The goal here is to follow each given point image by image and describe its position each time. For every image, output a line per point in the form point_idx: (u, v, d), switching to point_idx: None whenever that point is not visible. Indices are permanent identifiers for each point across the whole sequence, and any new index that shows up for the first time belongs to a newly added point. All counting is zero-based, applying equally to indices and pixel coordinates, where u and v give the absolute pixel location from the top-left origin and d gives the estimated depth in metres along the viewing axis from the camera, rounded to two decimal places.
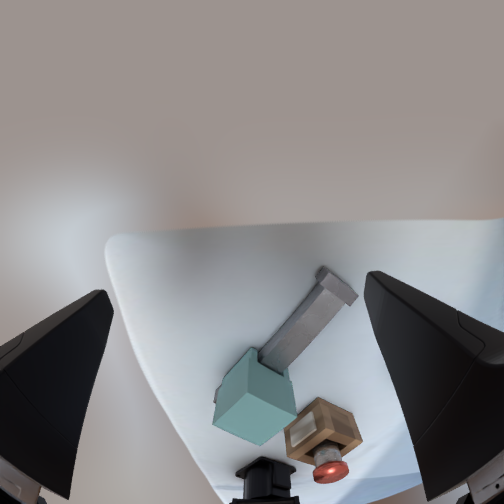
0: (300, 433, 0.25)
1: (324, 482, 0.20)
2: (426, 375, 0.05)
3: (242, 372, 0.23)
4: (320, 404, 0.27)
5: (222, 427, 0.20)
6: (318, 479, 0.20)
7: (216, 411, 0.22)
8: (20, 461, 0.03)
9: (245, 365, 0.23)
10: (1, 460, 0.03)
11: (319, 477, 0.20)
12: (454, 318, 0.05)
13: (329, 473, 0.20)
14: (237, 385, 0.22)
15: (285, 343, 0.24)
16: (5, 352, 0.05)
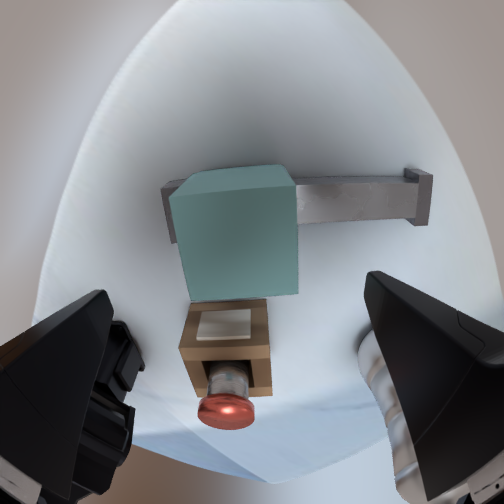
0: (220, 327, 0.19)
1: (205, 420, 0.16)
2: (426, 375, 0.05)
3: (268, 170, 0.14)
4: (266, 309, 0.21)
5: (178, 216, 0.11)
6: (205, 412, 0.15)
7: (183, 187, 0.12)
8: (20, 461, 0.03)
9: (276, 167, 0.14)
10: (1, 460, 0.03)
11: (210, 410, 0.15)
12: (454, 318, 0.05)
13: (228, 413, 0.15)
14: (256, 176, 0.13)
15: (332, 193, 0.16)
16: (5, 352, 0.05)
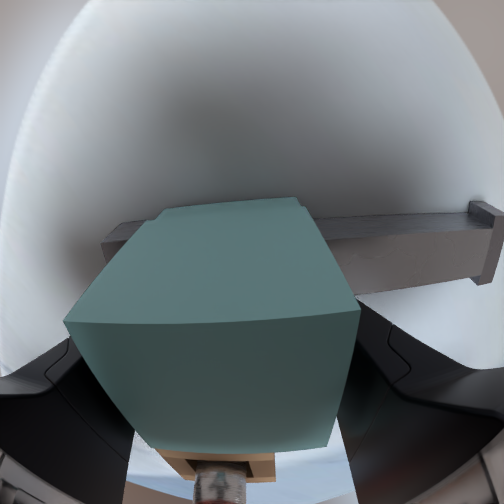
0: None
1: None
2: (352, 393, 0.05)
3: (280, 225, 0.07)
4: None
5: (90, 355, 0.04)
6: None
7: (106, 276, 0.05)
8: (73, 487, 0.03)
9: (295, 216, 0.08)
10: (49, 489, 0.03)
11: None
12: (384, 334, 0.05)
13: None
14: (256, 249, 0.06)
15: (382, 250, 0.09)
16: (50, 363, 0.04)
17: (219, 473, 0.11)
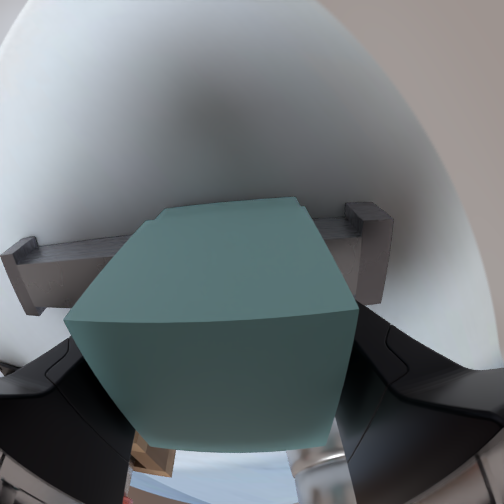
0: None
1: None
2: (350, 393, 0.05)
3: (280, 225, 0.07)
4: None
5: (91, 354, 0.04)
6: None
7: (106, 275, 0.05)
8: (73, 487, 0.03)
9: (294, 216, 0.08)
10: (50, 489, 0.03)
11: None
12: (382, 334, 0.05)
13: None
14: (255, 248, 0.06)
15: None
16: (51, 363, 0.04)
17: None
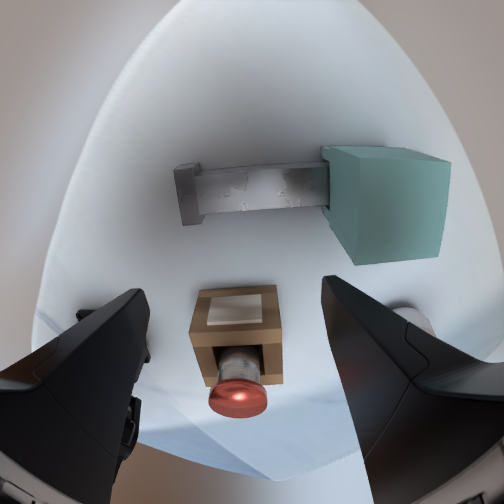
0: (231, 312, 0.19)
1: (215, 408, 0.16)
2: (369, 389, 0.05)
3: (402, 150, 0.13)
4: (277, 295, 0.21)
5: (365, 178, 0.11)
6: (216, 399, 0.15)
7: (353, 153, 0.12)
8: (60, 481, 0.03)
9: (404, 149, 0.14)
10: (37, 482, 0.03)
11: (222, 397, 0.15)
12: (401, 330, 0.05)
13: (240, 400, 0.15)
14: (404, 153, 0.12)
15: None
16: (39, 360, 0.05)
17: (239, 356, 0.17)
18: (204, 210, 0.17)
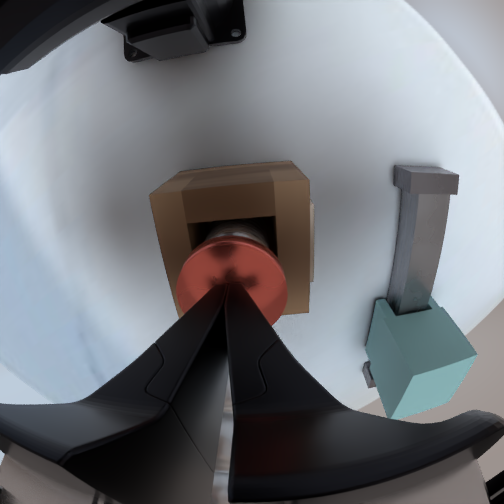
0: None
1: (208, 258, 0.08)
2: None
3: None
4: None
5: (466, 360, 0.12)
6: (250, 263, 0.08)
7: (464, 341, 0.13)
8: None
9: None
10: None
11: (259, 274, 0.09)
12: (261, 349, 0.05)
13: None
14: None
15: None
16: (147, 376, 0.04)
17: None
18: (421, 199, 0.13)
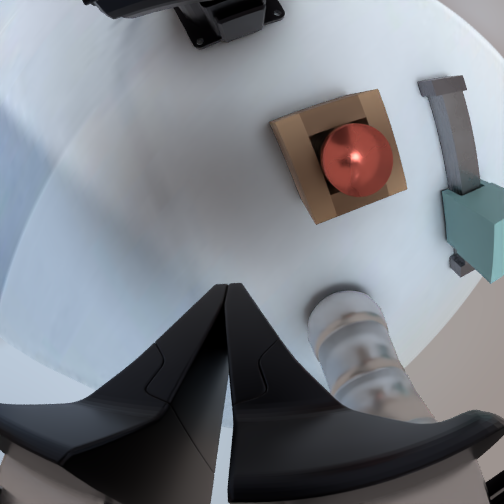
0: None
1: (341, 135, 0.12)
2: None
3: None
4: None
5: None
6: (365, 133, 0.11)
7: None
8: None
9: None
10: None
11: (372, 139, 0.12)
12: (261, 349, 0.05)
13: (372, 162, 0.12)
14: None
15: None
16: (147, 376, 0.04)
17: None
18: (445, 98, 0.14)
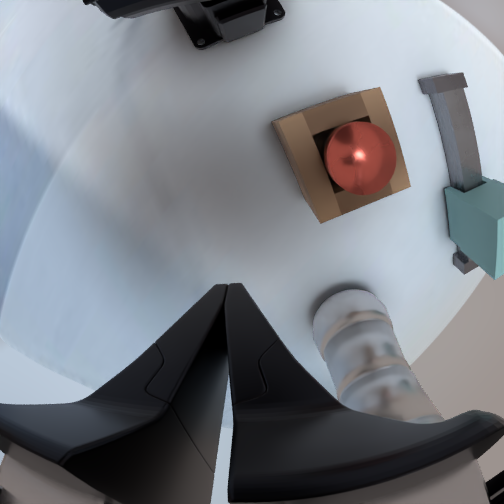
0: None
1: (344, 133, 0.11)
2: None
3: None
4: None
5: None
6: (369, 131, 0.11)
7: None
8: None
9: None
10: None
11: (376, 137, 0.11)
12: (261, 349, 0.05)
13: (375, 160, 0.12)
14: None
15: None
16: (147, 376, 0.04)
17: None
18: (446, 96, 0.14)
